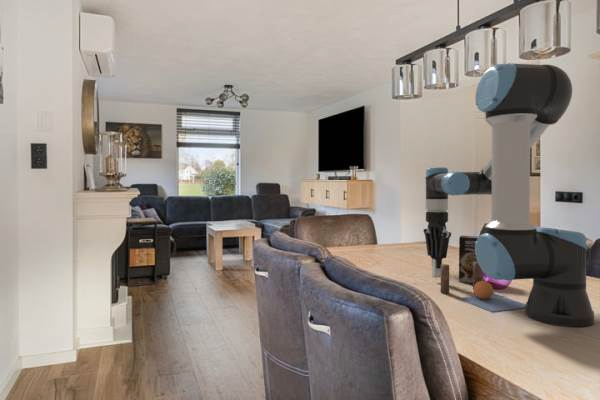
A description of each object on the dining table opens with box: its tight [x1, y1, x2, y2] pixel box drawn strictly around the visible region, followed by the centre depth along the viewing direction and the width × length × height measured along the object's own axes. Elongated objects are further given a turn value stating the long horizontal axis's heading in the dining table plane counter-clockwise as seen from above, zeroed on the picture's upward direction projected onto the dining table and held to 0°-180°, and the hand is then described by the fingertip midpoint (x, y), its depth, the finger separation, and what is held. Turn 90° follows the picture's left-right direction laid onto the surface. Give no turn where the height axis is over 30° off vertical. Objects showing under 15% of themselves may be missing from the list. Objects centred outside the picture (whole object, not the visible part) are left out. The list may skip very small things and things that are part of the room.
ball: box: [473, 281, 494, 299], centre depth 123 cm, size 6×6×6 cm
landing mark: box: [457, 293, 526, 313], centre depth 119 cm, size 14×14×1 cm
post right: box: [472, 262, 482, 291], centre depth 134 cm, size 3×3×9 cm
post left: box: [440, 263, 450, 295], centre depth 130 cm, size 3×3×9 cm
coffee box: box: [458, 235, 483, 284], centre depth 146 cm, size 9×6×16 cm
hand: (436, 276), depth 145 cm, fingers closed
